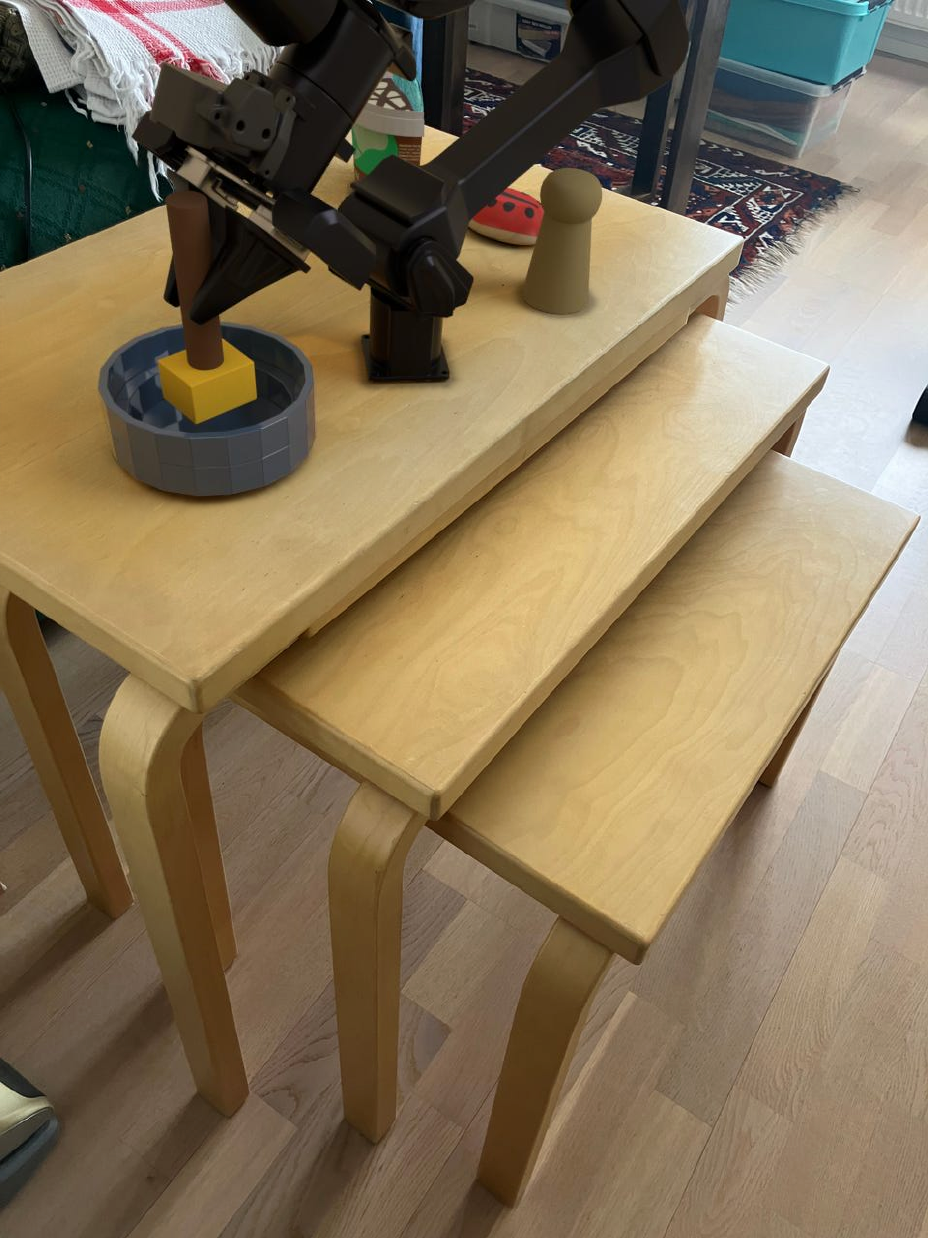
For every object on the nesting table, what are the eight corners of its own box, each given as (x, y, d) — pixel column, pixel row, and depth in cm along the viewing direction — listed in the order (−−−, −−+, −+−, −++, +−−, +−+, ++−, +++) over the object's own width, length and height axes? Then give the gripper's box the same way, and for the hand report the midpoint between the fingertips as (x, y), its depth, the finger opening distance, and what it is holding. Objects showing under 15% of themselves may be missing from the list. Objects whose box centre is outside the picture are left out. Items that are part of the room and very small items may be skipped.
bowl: (322, 500, 70) (320, 433, 66) (105, 510, 67) (90, 441, 63) (308, 383, 79) (306, 319, 75) (118, 388, 77) (105, 322, 73)
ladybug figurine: (479, 205, 104) (482, 170, 101) (565, 233, 101) (571, 198, 99) (446, 228, 100) (448, 192, 97) (535, 258, 97) (540, 222, 94)
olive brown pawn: (510, 300, 91) (525, 176, 83) (538, 273, 95) (556, 152, 87) (572, 321, 89) (594, 196, 81) (598, 293, 93) (621, 171, 85)
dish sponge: (224, 373, 73) (202, 176, 63) (257, 399, 71) (241, 200, 61) (163, 397, 70) (130, 196, 60) (195, 425, 68) (168, 222, 58)
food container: (332, 170, 107) (330, 67, 100) (388, 167, 109) (391, 66, 101) (359, 223, 99) (359, 115, 92) (420, 219, 101) (425, 113, 93)
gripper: (135, -40, 60) (3, 192, 62) (335, 56, 51) (173, 321, 54) (255, 79, 70) (137, 276, 72) (441, 176, 61) (300, 396, 63)
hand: (181, 312), depth 65 cm, fingers closed on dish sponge, 2 cm apart
